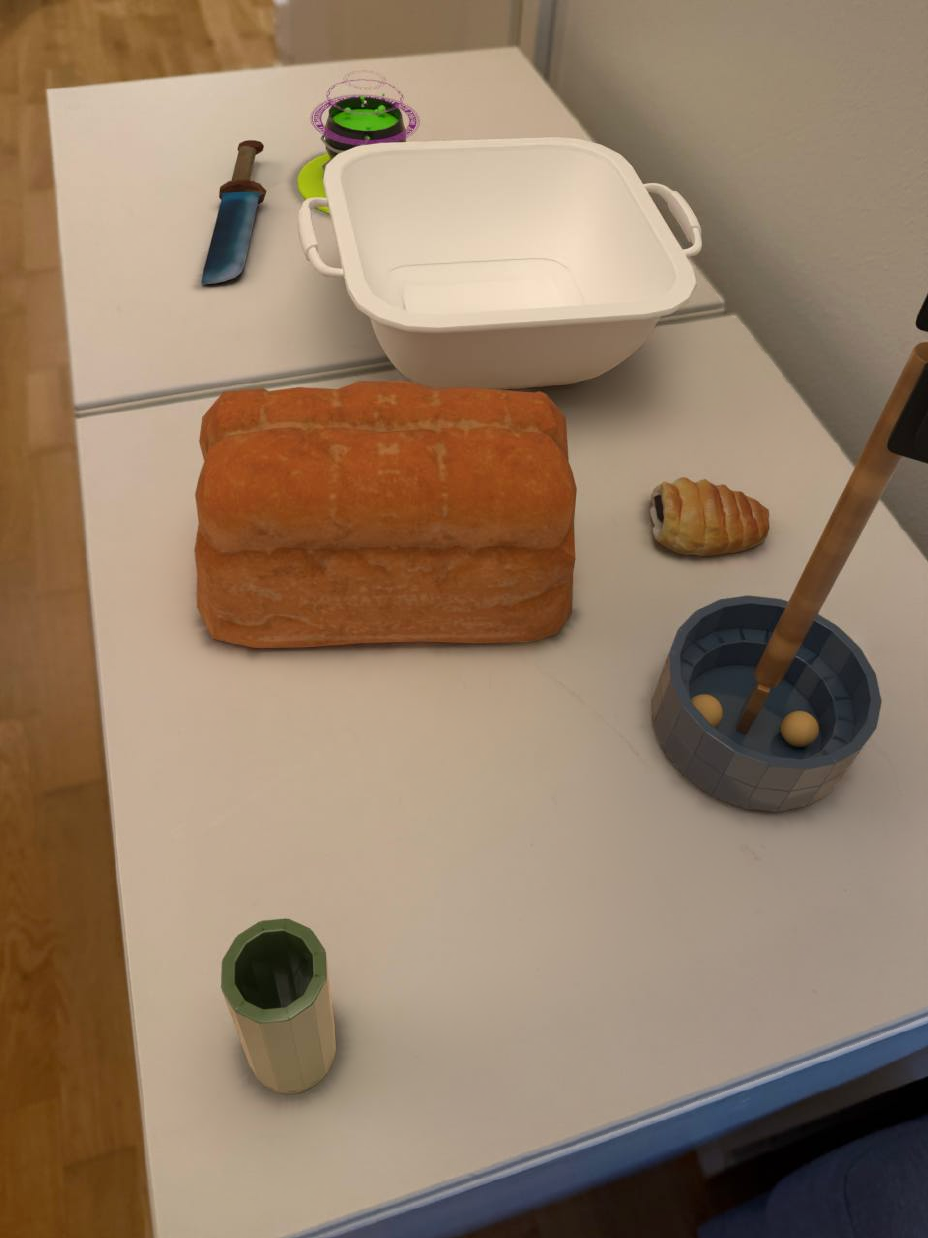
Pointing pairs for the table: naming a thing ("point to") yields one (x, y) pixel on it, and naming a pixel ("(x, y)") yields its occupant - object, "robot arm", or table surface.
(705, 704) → the chickpea
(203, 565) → the bread
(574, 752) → the table surface
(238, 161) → the knife
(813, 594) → the wooden dowel rod
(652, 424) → the table surface
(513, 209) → the baking dish
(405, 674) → the table surface
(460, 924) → the table surface
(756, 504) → the pastry
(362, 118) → the toy cauldron
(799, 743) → the chickpea
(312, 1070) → the utensil pot
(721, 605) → the bowl
